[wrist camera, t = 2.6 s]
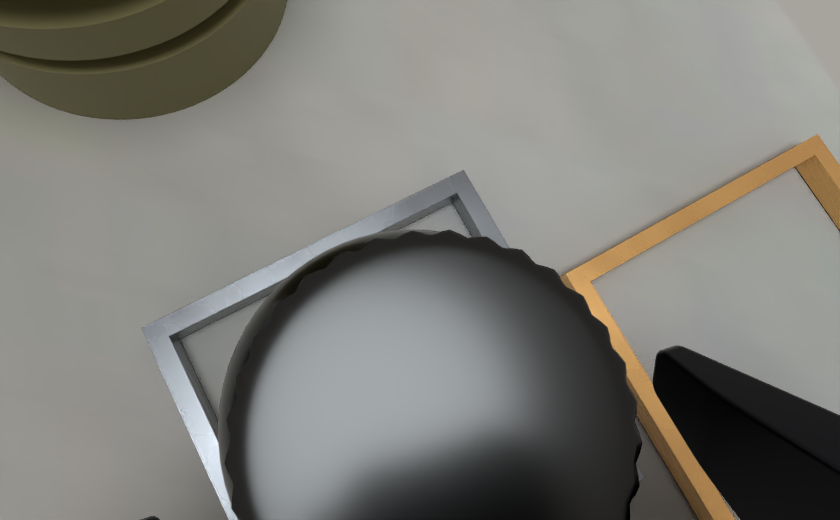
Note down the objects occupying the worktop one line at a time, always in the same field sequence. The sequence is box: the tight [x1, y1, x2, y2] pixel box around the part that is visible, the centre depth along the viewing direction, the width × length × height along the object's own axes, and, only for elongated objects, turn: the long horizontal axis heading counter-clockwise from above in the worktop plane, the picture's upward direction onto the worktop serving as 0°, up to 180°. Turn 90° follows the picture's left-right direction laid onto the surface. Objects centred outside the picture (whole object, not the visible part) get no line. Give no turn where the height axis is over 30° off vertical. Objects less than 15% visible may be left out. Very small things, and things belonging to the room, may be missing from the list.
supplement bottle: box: [218, 230, 642, 520], centre depth 12 cm, size 7×7×12 cm
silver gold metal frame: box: [141, 134, 840, 520], centre depth 18 cm, size 18×24×1 cm
